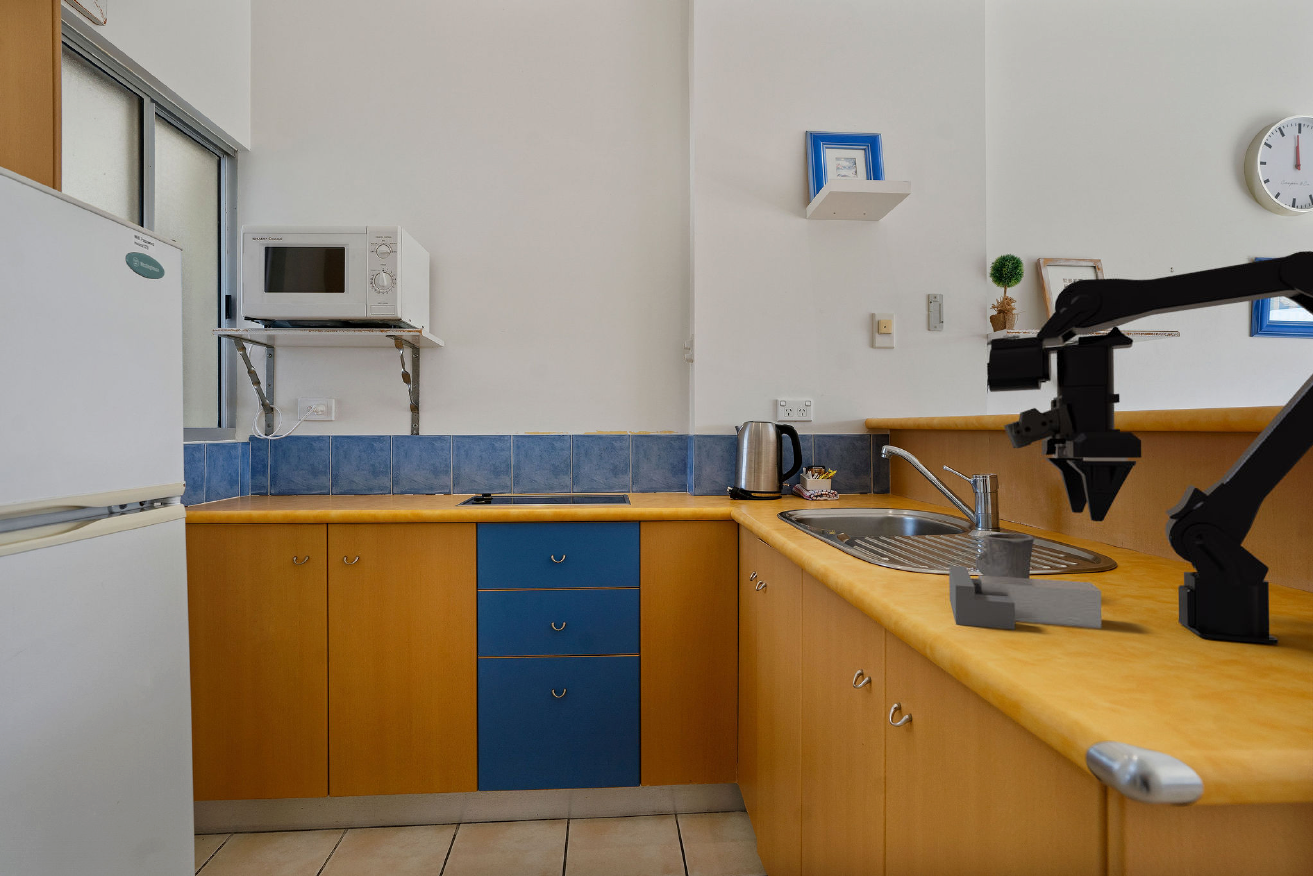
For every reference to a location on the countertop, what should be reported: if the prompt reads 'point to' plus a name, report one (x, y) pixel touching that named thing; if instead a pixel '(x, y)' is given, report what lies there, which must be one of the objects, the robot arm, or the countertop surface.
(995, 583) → the long gray post
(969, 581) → the grey u-shaped block
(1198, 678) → the countertop surface
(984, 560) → the grey tapered cup
